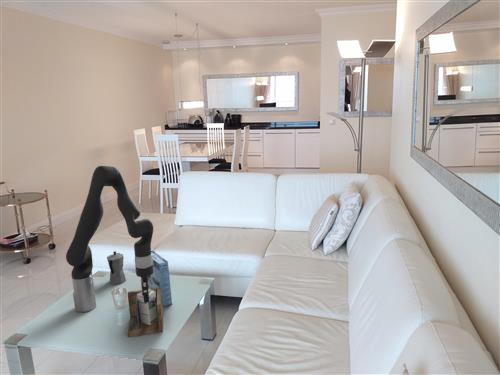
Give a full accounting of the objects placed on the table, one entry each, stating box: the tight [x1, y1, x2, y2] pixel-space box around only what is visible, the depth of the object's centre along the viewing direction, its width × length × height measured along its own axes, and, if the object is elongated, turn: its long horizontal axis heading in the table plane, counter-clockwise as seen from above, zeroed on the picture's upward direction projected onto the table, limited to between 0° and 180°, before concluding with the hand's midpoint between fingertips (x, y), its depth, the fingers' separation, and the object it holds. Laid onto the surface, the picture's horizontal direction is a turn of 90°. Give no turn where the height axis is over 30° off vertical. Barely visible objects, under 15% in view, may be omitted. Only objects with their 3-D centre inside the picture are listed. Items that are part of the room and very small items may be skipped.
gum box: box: [150, 250, 173, 308], centre depth 202 cm, size 20×5×23 cm, turn 35°
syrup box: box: [137, 289, 158, 325], centre depth 179 cm, size 6×6×14 cm
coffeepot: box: [106, 251, 127, 286], centre depth 223 cm, size 15×9×18 cm, turn 1°
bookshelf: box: [126, 288, 164, 338], centre depth 179 cm, size 15×16×14 cm
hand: (147, 297), depth 178 cm, fingers open, 8 cm apart
